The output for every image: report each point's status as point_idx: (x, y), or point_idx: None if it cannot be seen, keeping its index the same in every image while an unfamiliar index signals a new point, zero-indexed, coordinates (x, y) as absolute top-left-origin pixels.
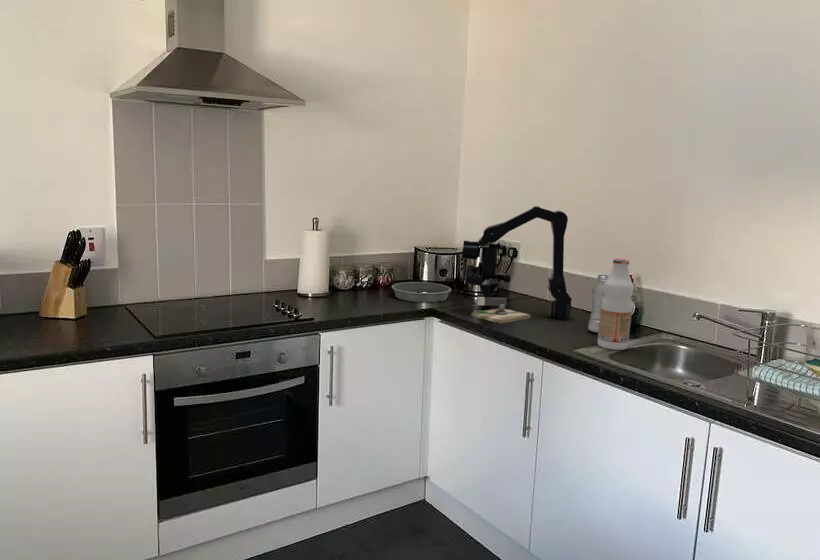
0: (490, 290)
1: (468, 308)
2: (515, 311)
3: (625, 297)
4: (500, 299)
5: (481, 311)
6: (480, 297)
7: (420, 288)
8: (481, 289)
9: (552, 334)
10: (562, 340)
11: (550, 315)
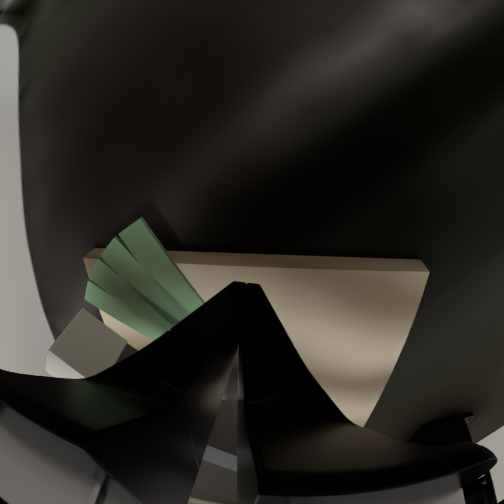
0: (199, 455)
1: (255, 36)
2: (384, 375)
3: None
4: (209, 457)
5: (154, 284)
6: (65, 375)
7: None
8: (125, 358)
9: (215, 480)
10: (196, 487)
11: (433, 426)
